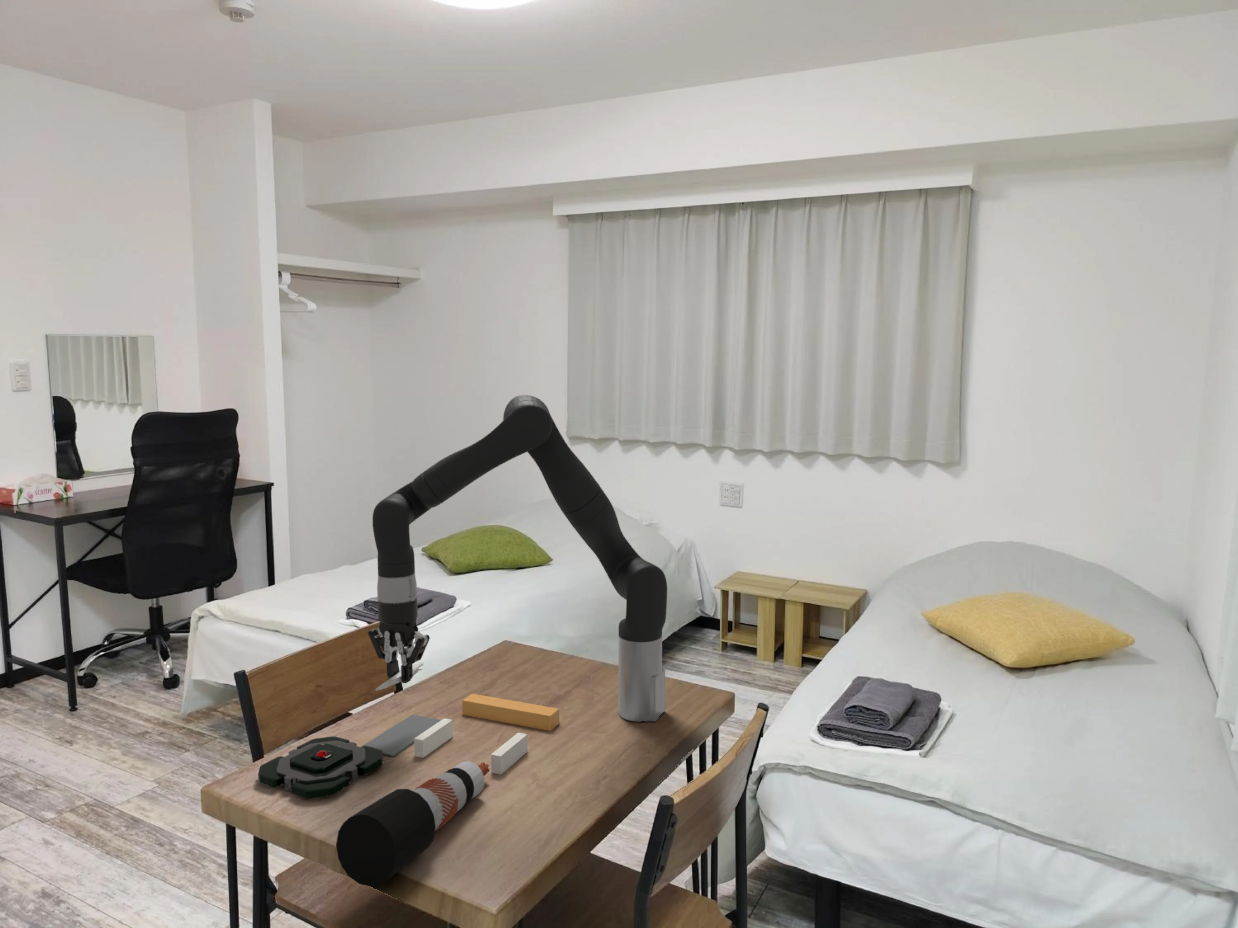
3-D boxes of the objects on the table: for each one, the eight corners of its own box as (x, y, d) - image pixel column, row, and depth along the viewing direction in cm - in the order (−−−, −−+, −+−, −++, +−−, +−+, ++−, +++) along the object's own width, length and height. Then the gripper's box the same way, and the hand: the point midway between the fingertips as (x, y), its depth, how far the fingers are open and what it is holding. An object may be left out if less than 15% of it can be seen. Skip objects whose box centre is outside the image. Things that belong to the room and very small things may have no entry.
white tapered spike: (417, 667, 177) (417, 659, 177) (428, 669, 176) (428, 661, 176) (369, 693, 163) (369, 684, 163) (380, 695, 162) (380, 686, 162)
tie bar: (559, 724, 177) (559, 708, 177) (550, 732, 174) (550, 715, 173) (472, 708, 185) (472, 693, 185) (462, 715, 182) (462, 700, 181)
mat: (444, 722, 178) (444, 720, 178) (392, 756, 162) (392, 754, 162) (412, 716, 181) (412, 714, 181) (359, 749, 165) (359, 747, 165)
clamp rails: (527, 751, 164) (527, 734, 164) (500, 774, 155) (500, 756, 155) (444, 734, 172) (444, 718, 171) (414, 755, 163) (413, 738, 162)
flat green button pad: (324, 744, 168) (323, 722, 168) (394, 764, 160) (393, 741, 159) (247, 784, 153) (246, 760, 152) (320, 809, 144) (319, 783, 144)
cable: (493, 807, 152) (518, 762, 151) (377, 900, 120) (406, 844, 119) (450, 773, 155) (474, 728, 154) (325, 855, 124) (354, 799, 122)
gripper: (356, 597, 167) (359, 682, 169) (415, 604, 161) (417, 692, 163) (380, 587, 174) (383, 669, 176) (438, 594, 168) (440, 679, 170)
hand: (400, 680), depth 170 cm, fingers closed on white tapered spike, 2 cm apart
